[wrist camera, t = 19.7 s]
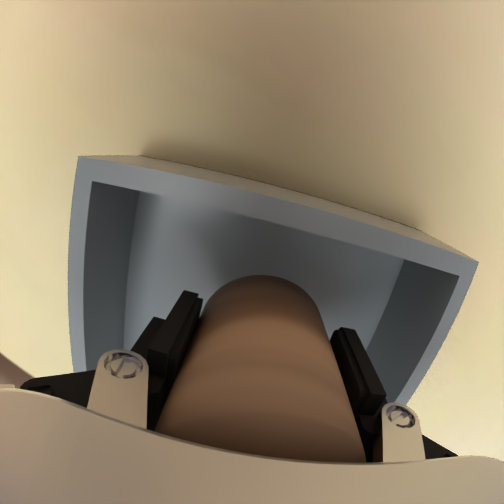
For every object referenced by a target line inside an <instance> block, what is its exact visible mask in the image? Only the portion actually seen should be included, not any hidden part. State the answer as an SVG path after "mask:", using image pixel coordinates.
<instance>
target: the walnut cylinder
mask: <svg viewBox="0 0 504 504" xmlns="http://www.w3.org/2000/svg"><path fill="white" fill-rule="evenodd" d="M154 432H158V433H161V434H164V435H168V436H171V437H175V438H178V439H182V440H186V441H190V442H194V443H198V444H202V445H207V446H211V447H216V448H221V449H226V450H231V451H236V452H242V453H248V454H254V455H261V456H268V457H275V458H284V459H294V460H305V461H319V462H342V463H366V457H365V452H364V448H363V445H362V442H361V438H360V435H359V431H358V428H357V425H356V421H355V418H354V415H353V412H352V408H351V405H350V402H349V399H348V396H347V393H346V389H345V386H344V383H343V380H342V377H341V374H340V371H339V368H338V365H337V362H336V359H335V356H334V353H333V350H332V347H331V344H330V341H329V338H328V335H327V332H326V329H325V326H324V323H323V321H322V318H321V315H320V312H319V310H318V308H317V305H316V304H315V302H314V301H313V299H312V298H311V297H310V296H309V294H308V293H307V292H306V291H304V290H303V289H302V288H301V287H299V286H298V285H296V284H294V283H293V282H290V281H288V280H286V279H283V278H280V277H276V276H270V275H251V276H245V277H241V278H238V279H235V280H233V281H231V282H229V283H227V284H225V285H224V286H222V287H220V288H219V289H218V290H217V291H216V292H215V293H214V294H213V295H212V296H211V297H210V298H209V300H208V301H207V303H206V304H205V306H204V308H203V311H202V313H201V315H200V318H199V321H198V323H197V326H196V328H195V331H194V333H193V336H192V338H191V340H190V343H189V345H188V348H187V350H186V353H185V355H184V358H183V360H182V363H181V365H180V368H179V370H178V373H177V375H176V378H175V380H174V383H173V385H172V387H171V390H170V392H169V394H168V397H167V399H166V402H165V405H164V407H163V410H162V412H161V415H160V417H159V420H158V422H157V425H156V428H155V430H154Z"/></svg>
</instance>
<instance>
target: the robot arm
mask: <svg viewBox="0 0 504 504" xmlns="http://www.w3.org/2000/svg"><path fill="white" fill-rule="evenodd" d="M198 295H199V294H198V293H194V292H191V291H187V290H184V291H183V292H182V294H181V295H180V297H179V299H178V300H177V302H176V303H175V305H174V307H173V308H172V310H171V311H170V313H169V315H168V316H167V318H166V320H165V319H162V318H158V317H153V318H152V319H151V321H150V322H149V324H148V325H147V327H146V328H145V330H144V331H143V332H142V334H141V335H140V337H139V338H138V340H137V341H136V343H135V344H134V346H133V347H132V349H131V350H130V351H129V350H124V349H116V350H111V351H108V352H106V353H104V354H103V355H102V356H101V357H100V359H99V361H98V365H97V369H95V370H89V371H83V372H76V373H70V374H63V375H55V376H48V377H40V378H34V379H30V380H28V381H27V382H25V383H24V384H23V385H22V386H21V387H20V388H14V385H13V384H0V504H504V462H503V461H500V460H498V459H495V458H490V457H486V456H472V455H471V456H458V455H457V454H455V453H453V452H451V451H449V450H448V449H446V448H444V447H442V446H441V445H439V444H437V443H436V442H434V441H432V440H430V439H429V438H427V437H425V436H424V435H422V433H421V428H420V422H419V419H418V416H417V415H416V413H415V412H414V411H413V410H412V409H410V408H409V407H407V406H405V405H403V404H400V403H395V402H393V403H388V402H387V400H386V398H385V397H386V396H387V394H386V392H385V390H384V388H383V385H382V383H381V381H380V379H379V377H378V375H377V373H376V371H375V369H374V367H373V365H372V362H371V360H370V358H369V356H368V354H367V352H366V350H365V348H364V346H363V344H362V342H361V340H360V338H359V336H358V334H357V332H356V330H355V329H350V328H345V327H340V328H339V330H334V332H333V334H332V336H331V339H330V344H331V347H332V350H333V353H334V356H335V359H336V362H337V365H338V368H339V371H340V374H341V377H342V380H343V383H344V386H345V389H346V393H347V396H348V399H349V402H350V405H351V408H352V412H353V415H354V418H355V421H356V425H357V428H358V431H359V435H360V438H361V442H362V445H363V448H364V452H365V457H366V463H342V462H319V461H305V460H294V459H284V458H275V457H268V456H261V455H254V454H248V453H242V452H236V451H231V450H226V449H221V448H216V447H211V446H207V445H202V444H198V443H194V442H190V441H186V440H182V439H178V438H175V437H171V436H168V435H164V434H161V433H158V432H154V430H155V428H156V425H157V422H158V420H159V417H160V415H161V412H162V410H163V407H164V405H165V402H166V399H167V397H168V394H169V392H170V390H171V387H172V385H173V383H174V380H175V378H176V375H177V373H178V370H179V368H180V365H181V363H182V360H183V358H184V355H185V353H186V350H187V348H188V345H189V343H190V340H191V338H192V336H193V333H194V331H195V328H196V326H197V323H198V321H199V318H200V313H201V308H202V303H203V299H202V298H198Z"/></svg>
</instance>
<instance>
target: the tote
mask: <svg viewBox="0 0 504 504" xmlns="http://www.w3.org/2000/svg"><path fill="white" fill-rule="evenodd" d="M478 263H479V262H478V261H476V260H474V259H472V258H471V257H469V256H467V255H465V254H463V253H462V252H460V251H458V250H456V249H454V248H452V247H451V246H449V245H447V244H445V243H443V242H441V241H439V240H437V239H435V238H434V237H432V236H430V235H428V234H426V233H424V232H422V231H420V230H418V229H415V228H412V227H409V226H406V225H404V224H401V223H398V222H395V221H392V220H389V219H386V218H383V217H380V216H377V215H374V214H370V213H367V212H364V211H361V210H358V209H355V208H351V207H348V206H345V205H342V204H338V203H335V202H332V201H328V200H325V199H321V198H318V197H314V196H311V195H307V194H304V193H300V192H297V191H293V190H289V189H286V188H282V187H278V186H274V185H270V184H267V183H263V182H259V181H255V180H251V179H247V178H242V177H238V176H234V175H230V174H226V173H221V172H217V171H212V170H208V169H203V168H199V167H194V166H189V165H185V164H180V163H175V162H170V161H165V160H160V159H154V158H149V157H144V156H124V155H106V156H78V162H77V168H76V175H75V182H74V190H73V198H72V208H71V219H70V232H69V251H68V310H69V329H70V342H71V353H72V362H73V370H74V373H76V372H83V371H89V370H95V369H97V365H98V361H99V359H100V357H101V356H102V355H103V354H104V353H106V352H108V351H111V350H116V349H124V350H129V351H130V350H131V349H132V347H133V346H134V344H135V343H136V341H137V340H138V338H139V337H140V335H141V334H142V332H143V331H144V330H145V328H146V327H147V325H148V324H149V322H150V321H151V319H152V318H153V317H158V318H162V319H165V320H166V318H167V316H168V315H169V313H170V311H171V310H172V308H173V307H174V305H175V303H176V302H177V300H178V299H179V297H180V295H181V294H182V292H183V291H184V290H187V291H191V292H194V293H198V294H199V295H198V298H202V299H203V303H202V308H201V313H202V311H203V308H204V306H205V304H206V303H207V301H208V300H209V298H210V297H211V296H212V295H213V294H214V293H215V292H216V291H217V290H218V289H219V288H220V287H222V286H224V285H225V284H227V283H229V282H231V281H233V280H235V279H238V278H241V277H245V276H251V275H270V276H276V277H280V278H283V279H286V280H288V281H290V282H293V283H294V284H296V285H298V286H299V287H301V288H302V289H303V290H304V291H306V292H307V293H308V294H309V296H310V297H311V298H312V299H313V301H314V302H315V304H316V305H317V308H318V310H319V312H320V315H321V318H322V321H323V323H324V326H325V329H326V332H327V335H328V338H329V341H330V339H331V336H332V334H333V332H334V330H339V328H340V327H345V328H350V329H355V330H356V332H357V334H358V336H359V338H360V340H361V342H362V344H363V346H364V348H365V350H366V352H367V354H368V356H369V358H370V360H371V362H372V365H373V367H374V369H375V371H376V373H377V375H378V377H379V379H380V381H381V383H382V385H383V388H384V390H385V392H386V394H387V396H386V397H385V398H386V400H387V402H388V403H393V402H395V403H400V404H403V405H405V406H406V404H407V403H408V401H409V400H410V398H411V397H412V395H413V393H414V392H415V390H416V389H417V387H418V386H419V384H420V382H421V381H422V379H423V377H424V376H425V374H426V373H427V371H428V369H429V367H430V366H431V364H432V362H433V360H434V359H435V357H436V355H437V353H438V351H439V350H440V348H441V346H442V344H443V342H444V340H445V338H446V336H447V334H448V332H449V330H450V328H451V326H452V324H453V322H454V320H455V318H456V316H457V314H458V312H459V309H460V307H461V305H462V303H463V301H464V298H465V296H466V294H467V291H468V289H469V286H470V284H471V281H472V279H473V276H474V274H475V271H476V269H477V266H478ZM201 313H200V315H201Z"/></svg>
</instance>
